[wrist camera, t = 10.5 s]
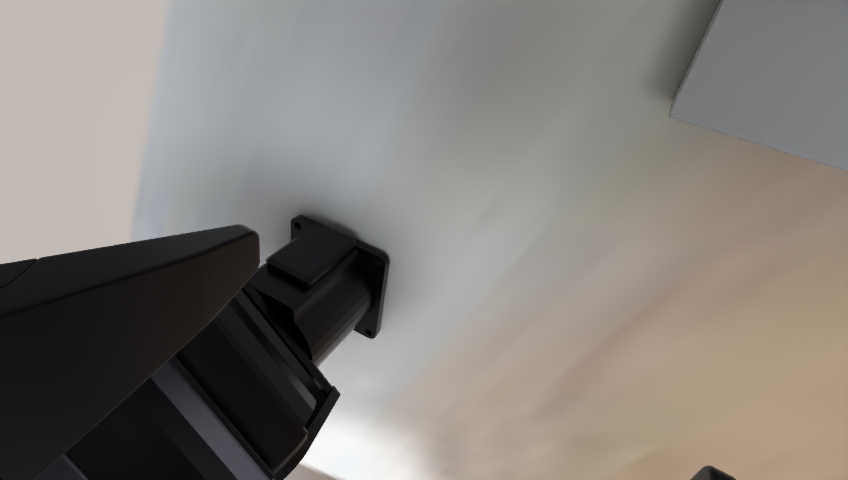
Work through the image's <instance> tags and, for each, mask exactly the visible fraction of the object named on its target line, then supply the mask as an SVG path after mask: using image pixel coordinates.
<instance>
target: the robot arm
mask: <svg viewBox="0 0 848 480" xmlns="http://www.w3.org/2000/svg"><path fill="white" fill-rule="evenodd" d="M299 223H300V224H299ZM378 260H379V261H380V262H381V263H380V262H379V261H378ZM259 263H260V246H259V235H258V233H257V232H256V231H254V230H252V229H250V228H248V227H246V226H244V225H233V226H227V227H221V228H215V229H209V230H203V231H197V232H191V233H185V234H179V235H173V236H167V237H161V238H155V239H149V240H143V241H137V242H131V243H125V244H119V245H114V246H108V247H101V248H95V249H89V250H83V251H78V252H72V253H65V254H60V255H54V256H48V257H42V258H40V259H29V260H23V261H18V262H12V263H6V264H0V480H283V479H284V478H286V477H287V475H288V474H289V473H291V471H292V470H293V469H294V468H295V467H296V466H297V465H298V463H299V462H300V461H301V460H302V458H303V457H304V455H305V454H306V452H307V451H308V449H309V448H310V446H311V444H312V442H313V441H314V439H315V437H316V436H317V434H318V432H319V431H320V429H321V427H322V425H323V424H324V422H325V420H326V419H327V417H328V415H329V413H330V412H331V410H332V408H333V407H334V405H335V403H336V402H337V400H338V398H339V396H340V393H339V392H338V390H337V389H336V388H335V386H331V384H330V383H329V382H328V380H327V379H326V378H325V377H324V375H323V374H322V373H321V372H320V370H319V369H318V368H317V367H318V366H319V365H320V364H321V363H322V362H323V361H324V360H325V359H326V358H327V357H328V356H329V354H330V353H331V352H332V351H333V350H334V349H335V348H336V347H337V346H338V345H339V344H340V343H341V342H342V341H343V340H344V339H345V338H346V336H347V335H348V334H349V333H350V332H351V331H352V330H354V331H356V332H358V333H360V334H362V335H364V336H366V337H368V338H370V339H373V338H375V337H376V336H377V335H378V333H379V329H380V322H381V315H382V308H383V302H384V295H385V288H386V281H387V275H388V268H389V260H388V257H387V256H386V255H385V254H383V253H381V252H379V251H377V250H375V249H373V248H371V247H369V246H366V245H364V244H362V243H360V242H358V241H356V240H354V239H351V238H349V237H347V236H345V235H343V234H341V233H338V232H336V231H334V230H332V229H330V228H328V227H326V226H323V225H321V224H319V223H317V222H315V221H313V220H310V219H308V218H306V217H304V216H302V215H298V216H296V217H294V218H293V219H292V220H291V242H290V243H288V244H287V245H285V246H284V247H282V248H281V249H280V250H278V251H277V252H275V253H274V254H272V255H271V256H270V257H268V258H267V259H266V263H265V264H264V265H262V266H261V267H259ZM258 267H259V268H258ZM690 480H736V479H735V478H734V477H732V476H730V475H728V474H726V473H724V472H723V471H721V470H719V469H717V468H715V467H713V466H705V467H703V468H702V469H701V470H700V471H699V472H698V473H697V474H696V475H695V476H693V477H692V478H691V479H690Z"/></svg>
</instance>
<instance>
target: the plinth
mask: <svg viewBox="0 0 848 480" xmlns="http://www.w3.org/2000/svg"><path fill="white" fill-rule="evenodd" d="M669 117H670V118H674V119H677V120H680V121H684V122H687V123H690V124H693V125H697V126H700V127H703V128H707V129H710V130H713V131H717V132H720V133H723V134H726V135H730V136H733V137H736V138H740V139H743V140H746V141H750V142H753V143H756V144H759V145H763V146H766V147H769V148H773V149H776V150H779V151H783V152H786V153H789V154H792V155H796V156H799V157H802V158H806V159H809V160H812V161H816V162H819V163H822V164H825V165H829V166H832V167H835V168H839V169H842V170H845V171H848V0H721V1H720V3H719V5H718V7H717V9H716V11H715V13H714V15H713V18H712V20H711V22H710V24H709V26H708V28H707V30H706V32H705V34H704V37H703V39H702V41H701V43H700V45H699V47H698V49H697V51H696V53H695V55H694V58H693V60H692V62H691V64H690V66H689V68H688V70H687V72H686V74H685V77H684V79H683V81H682V83H681V85H680V87H679V89H678V91H677V93H676V95H675V98H674V100H673V102H672V106H671V109H670V113H669Z"/></svg>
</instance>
